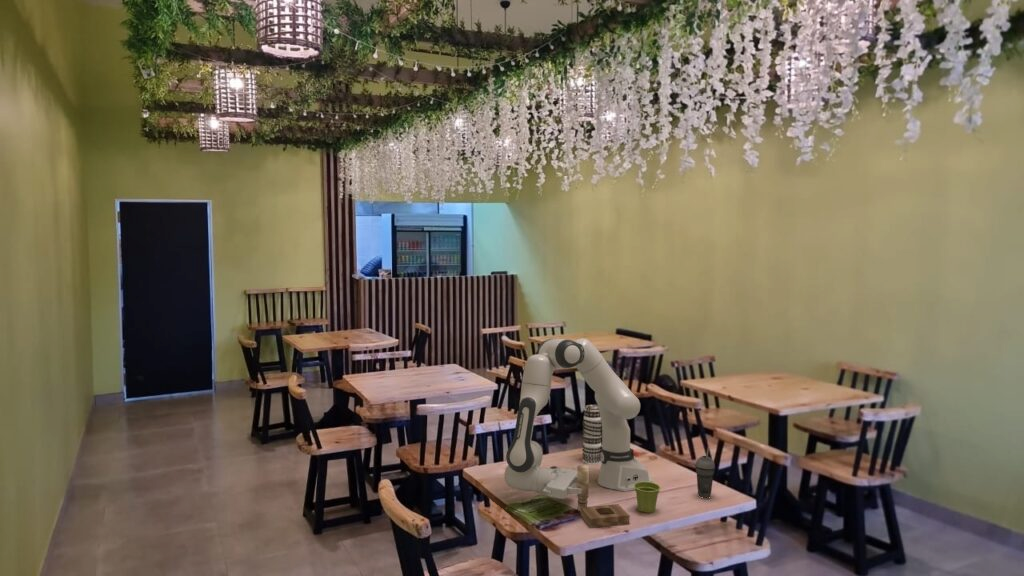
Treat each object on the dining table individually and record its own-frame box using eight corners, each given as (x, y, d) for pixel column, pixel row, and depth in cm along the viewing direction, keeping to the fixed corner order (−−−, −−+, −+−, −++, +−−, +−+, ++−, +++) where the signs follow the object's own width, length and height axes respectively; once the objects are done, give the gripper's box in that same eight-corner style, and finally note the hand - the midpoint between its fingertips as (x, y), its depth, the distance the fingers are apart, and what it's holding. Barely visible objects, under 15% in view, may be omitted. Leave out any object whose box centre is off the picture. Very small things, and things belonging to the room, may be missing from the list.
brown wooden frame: (618, 512, 227) (618, 504, 227) (629, 524, 218) (629, 515, 217) (580, 515, 224) (580, 507, 224) (590, 527, 214) (590, 519, 214)
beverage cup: (700, 491, 248) (701, 440, 247) (717, 496, 243) (719, 445, 241) (690, 496, 243) (692, 444, 241) (708, 501, 237) (709, 449, 236)
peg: (585, 508, 231) (586, 464, 230) (589, 512, 227) (590, 468, 226) (575, 508, 230) (575, 465, 229) (579, 513, 226) (579, 469, 225)
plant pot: (664, 513, 227) (665, 489, 226) (641, 516, 224) (641, 492, 223) (651, 503, 236) (652, 480, 235) (628, 506, 233) (629, 482, 232)
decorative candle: (605, 464, 278) (606, 407, 277) (585, 465, 277) (586, 408, 275) (598, 457, 287) (599, 402, 286) (579, 458, 286) (579, 403, 284)
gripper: (539, 482, 222) (577, 487, 218) (555, 464, 242) (591, 468, 237) (539, 500, 223) (577, 505, 218) (555, 480, 242) (591, 485, 237)
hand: (584, 486), depth 228 cm, fingers open, 8 cm apart
